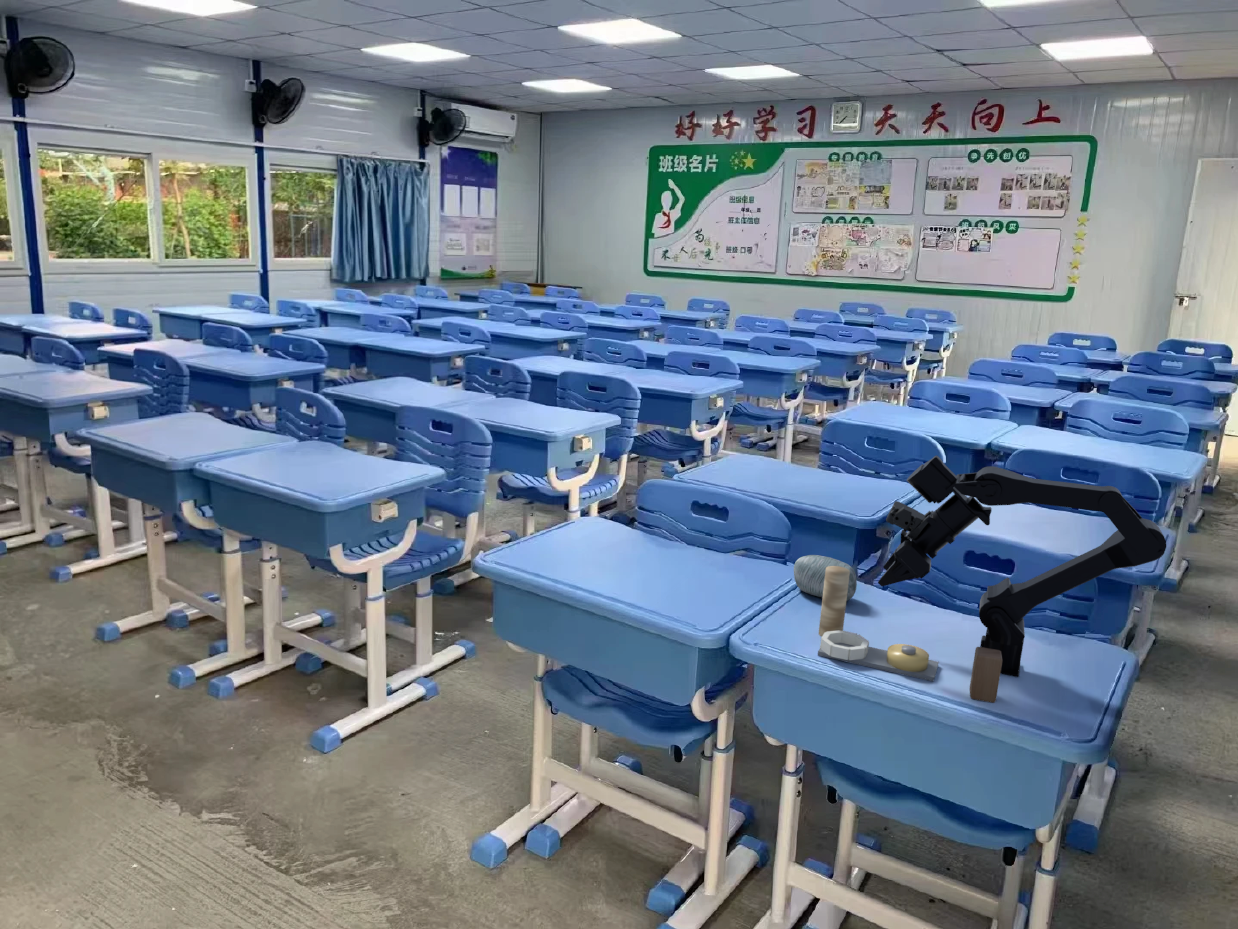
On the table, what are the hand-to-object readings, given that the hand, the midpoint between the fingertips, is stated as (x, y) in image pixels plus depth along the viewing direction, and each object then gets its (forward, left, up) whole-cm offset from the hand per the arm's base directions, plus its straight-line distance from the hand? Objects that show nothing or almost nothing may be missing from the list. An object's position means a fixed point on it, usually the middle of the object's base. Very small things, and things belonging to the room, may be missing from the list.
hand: (882, 576), depth 174 cm
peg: (+8, +1, -13) cm, 15 cm away
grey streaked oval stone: (+14, -19, -13) cm, 27 cm away
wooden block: (-20, +13, -13) cm, 27 cm away
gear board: (-2, +8, -13) cm, 15 cm away
